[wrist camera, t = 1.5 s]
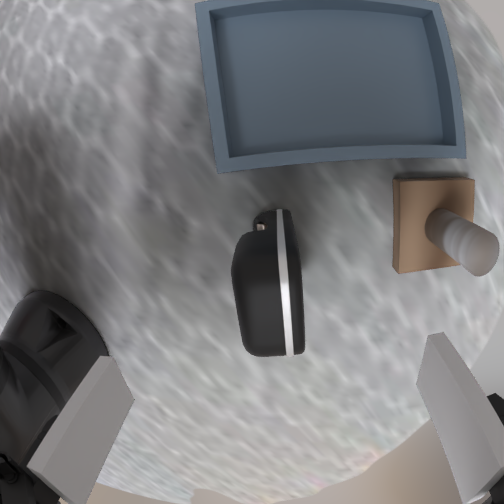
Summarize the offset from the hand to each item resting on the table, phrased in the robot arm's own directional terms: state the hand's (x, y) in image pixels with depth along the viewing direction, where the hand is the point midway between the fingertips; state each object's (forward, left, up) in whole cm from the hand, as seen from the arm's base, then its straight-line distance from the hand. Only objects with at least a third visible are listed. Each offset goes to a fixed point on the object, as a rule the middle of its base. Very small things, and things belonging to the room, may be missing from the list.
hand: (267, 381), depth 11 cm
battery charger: (0, 0, -16) cm, 16 cm away
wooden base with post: (+15, +1, -16) cm, 22 cm away
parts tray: (+7, +14, -16) cm, 22 cm away
